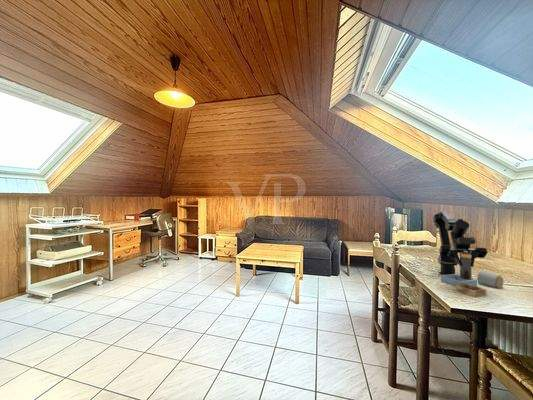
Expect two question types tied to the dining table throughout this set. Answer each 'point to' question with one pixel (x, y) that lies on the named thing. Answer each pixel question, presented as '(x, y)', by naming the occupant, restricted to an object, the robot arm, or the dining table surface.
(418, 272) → the dining table surface
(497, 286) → the grey cylinder
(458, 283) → the tray
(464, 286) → the brown wooden square box
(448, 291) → the dining table surface
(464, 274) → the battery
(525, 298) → the dining table surface
